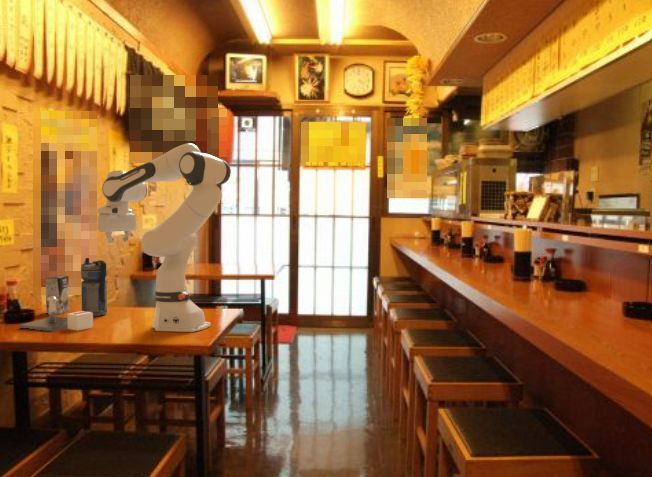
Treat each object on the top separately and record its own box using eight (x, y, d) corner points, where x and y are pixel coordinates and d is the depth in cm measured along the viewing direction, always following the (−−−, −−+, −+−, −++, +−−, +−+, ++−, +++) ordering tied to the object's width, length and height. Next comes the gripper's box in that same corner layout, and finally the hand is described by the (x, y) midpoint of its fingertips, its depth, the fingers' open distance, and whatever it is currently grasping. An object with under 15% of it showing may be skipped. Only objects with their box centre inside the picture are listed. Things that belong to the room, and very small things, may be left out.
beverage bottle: (95, 318, 210) (93, 260, 209) (75, 315, 217) (74, 258, 215) (115, 314, 219) (114, 258, 218) (96, 311, 225) (95, 256, 224)
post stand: (84, 322, 202) (84, 294, 202) (52, 331, 187) (51, 301, 186) (53, 320, 207) (53, 292, 206) (19, 328, 192) (18, 299, 191)
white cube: (83, 325, 197) (82, 310, 197) (93, 327, 194) (92, 311, 194) (67, 328, 192) (67, 312, 192) (77, 330, 189) (77, 314, 188)
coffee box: (61, 314, 220) (60, 278, 219) (45, 314, 219) (45, 278, 218) (69, 310, 229) (68, 275, 228) (55, 310, 228) (54, 275, 227)
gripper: (127, 209, 221) (128, 240, 222) (94, 209, 201) (95, 243, 202) (139, 209, 219) (140, 240, 220) (107, 209, 200) (108, 243, 200)
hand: (118, 242), depth 211 cm, fingers open, 8 cm apart
